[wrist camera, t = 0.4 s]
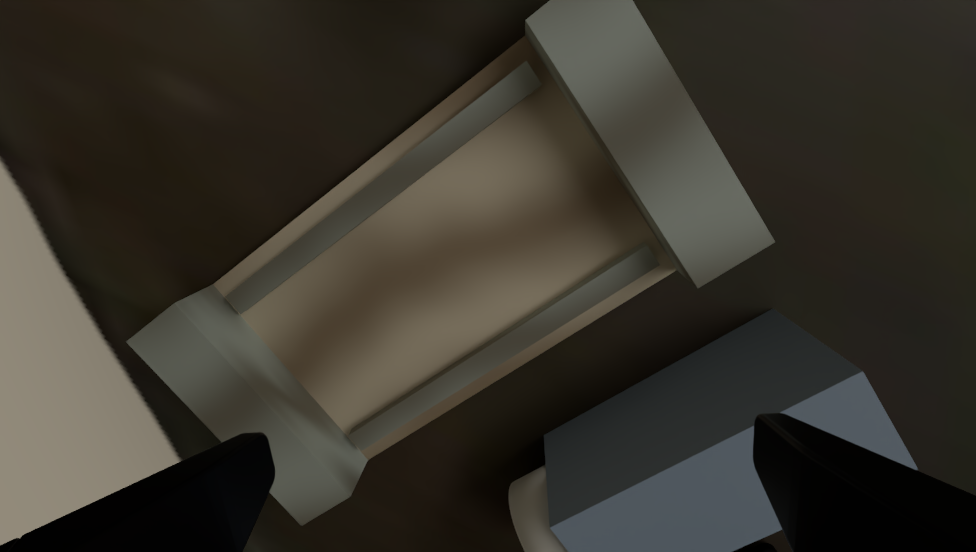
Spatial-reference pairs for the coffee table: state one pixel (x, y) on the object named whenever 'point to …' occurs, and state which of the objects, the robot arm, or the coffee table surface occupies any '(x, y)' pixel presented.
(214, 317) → the cradle
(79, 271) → the coffee table surface
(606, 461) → the slate grey rectangular prism
